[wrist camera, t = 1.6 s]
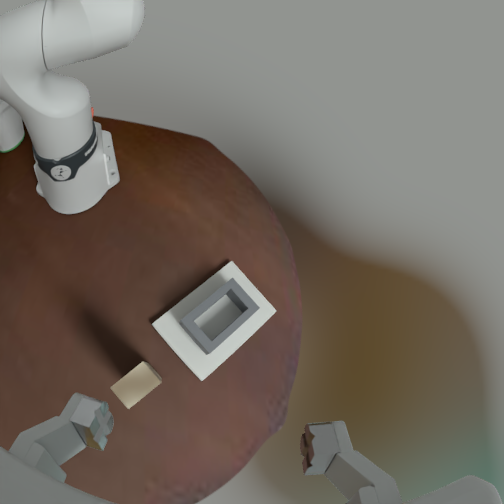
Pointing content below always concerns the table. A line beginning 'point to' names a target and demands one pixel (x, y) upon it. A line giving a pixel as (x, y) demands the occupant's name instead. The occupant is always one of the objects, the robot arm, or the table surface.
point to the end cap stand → (214, 320)
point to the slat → (136, 384)
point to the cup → (10, 127)
